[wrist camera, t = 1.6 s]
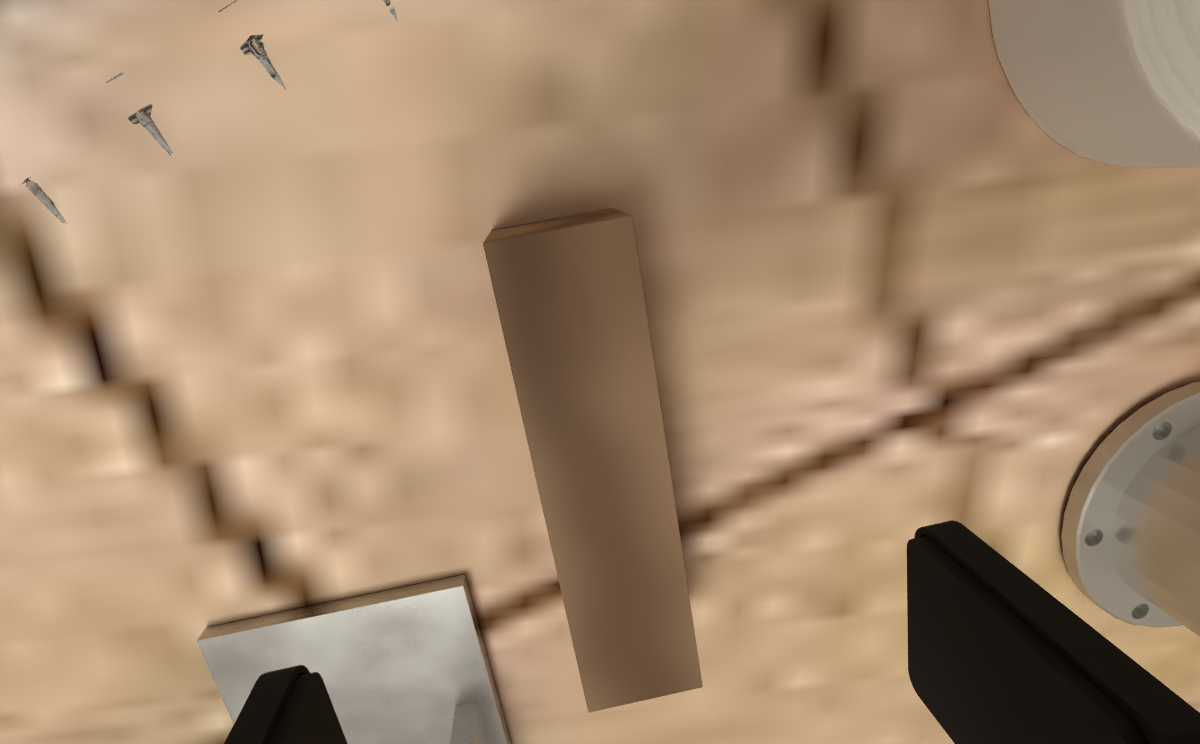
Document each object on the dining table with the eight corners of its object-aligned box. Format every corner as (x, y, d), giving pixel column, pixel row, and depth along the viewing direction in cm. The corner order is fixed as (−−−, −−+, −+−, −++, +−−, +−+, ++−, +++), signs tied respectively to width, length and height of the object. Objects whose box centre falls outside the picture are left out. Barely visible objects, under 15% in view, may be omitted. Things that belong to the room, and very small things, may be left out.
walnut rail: (611, 207, 24) (631, 215, 19) (674, 604, 29) (702, 686, 25) (492, 229, 24) (483, 243, 19) (578, 624, 29) (588, 712, 24)
